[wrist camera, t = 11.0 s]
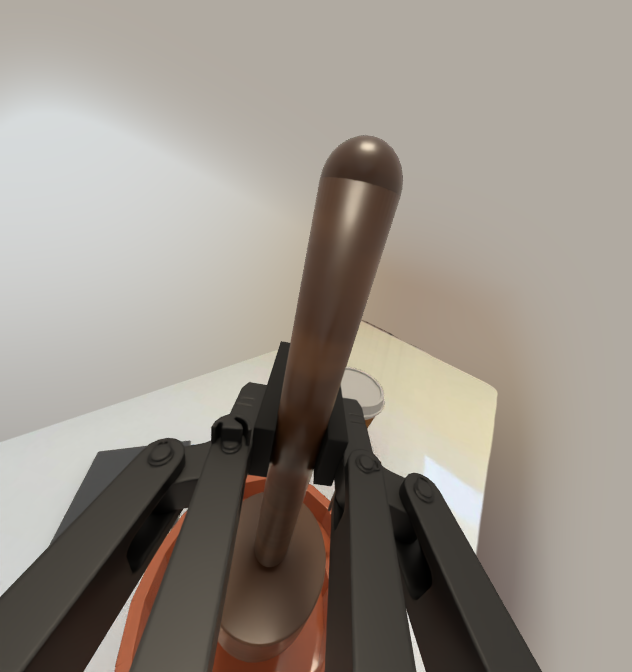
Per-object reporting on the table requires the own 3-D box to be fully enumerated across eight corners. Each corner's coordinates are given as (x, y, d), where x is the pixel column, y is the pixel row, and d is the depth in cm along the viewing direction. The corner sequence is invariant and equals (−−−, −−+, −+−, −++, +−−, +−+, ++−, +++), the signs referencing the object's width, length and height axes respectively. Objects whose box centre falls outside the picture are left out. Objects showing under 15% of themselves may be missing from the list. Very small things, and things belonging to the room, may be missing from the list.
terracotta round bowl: (74, 971, 10) (22, 1040, 7) (163, 527, 24) (157, 491, 21) (384, 736, 16) (422, 724, 13) (313, 492, 30) (324, 460, 27)
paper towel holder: (200, 694, 11) (120, -309, 1) (210, 525, 17) (212, 124, 7) (331, 630, 14) (671, 165, 4) (301, 503, 19) (400, 188, 9)
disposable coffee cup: (363, 478, 33) (392, 418, 28) (299, 460, 33) (316, 397, 28) (361, 427, 41) (383, 373, 36) (310, 413, 42) (325, 358, 37)
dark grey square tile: (46, 559, 20) (43, 554, 20) (99, 455, 28) (98, 451, 28) (177, 527, 24) (177, 523, 24) (190, 444, 32) (190, 440, 32)
